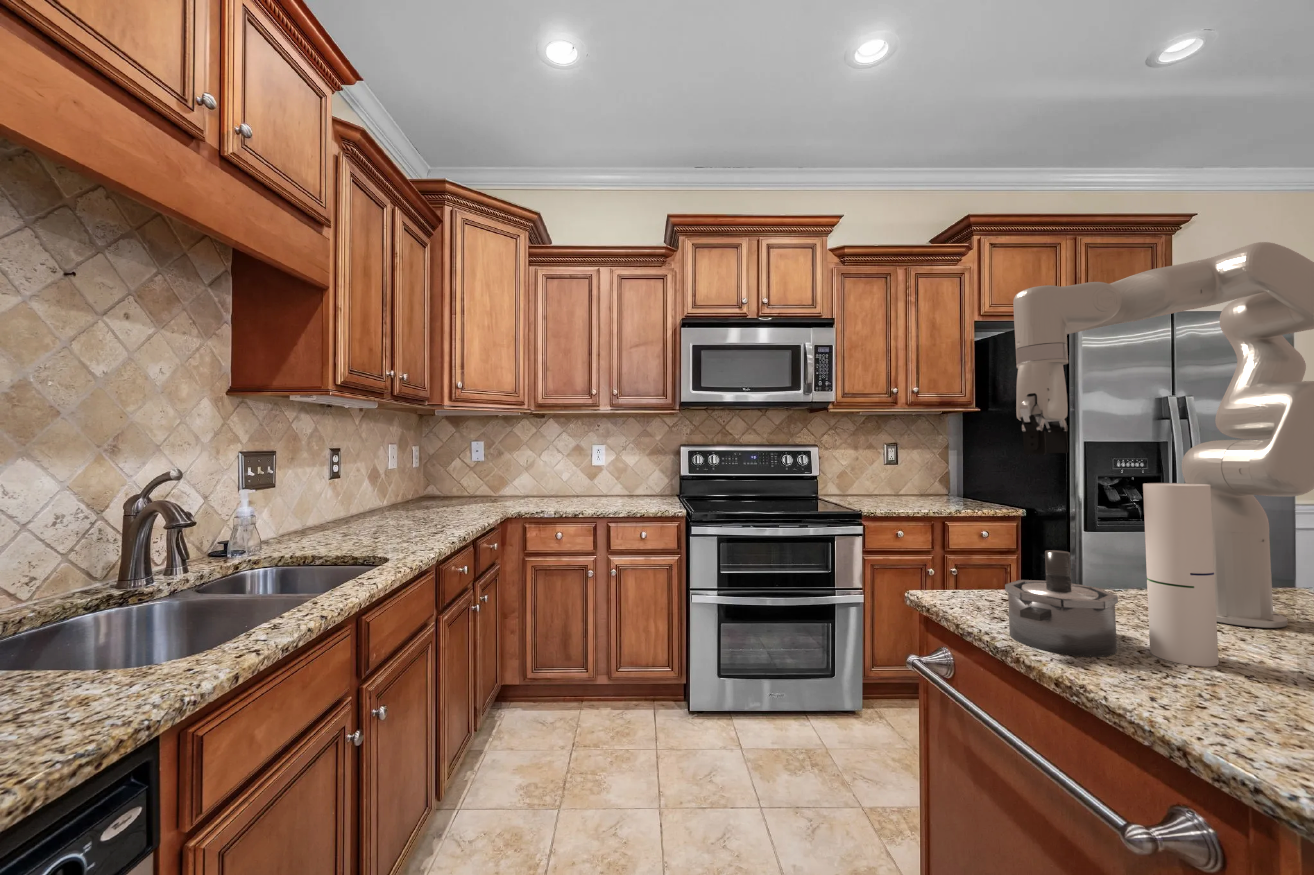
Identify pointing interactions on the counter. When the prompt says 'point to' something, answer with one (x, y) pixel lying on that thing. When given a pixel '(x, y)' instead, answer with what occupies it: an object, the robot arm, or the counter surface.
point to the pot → (1063, 621)
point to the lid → (1059, 579)
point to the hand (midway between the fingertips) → (1046, 453)
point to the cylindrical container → (1180, 573)
